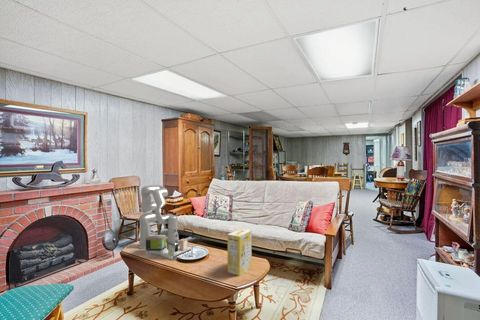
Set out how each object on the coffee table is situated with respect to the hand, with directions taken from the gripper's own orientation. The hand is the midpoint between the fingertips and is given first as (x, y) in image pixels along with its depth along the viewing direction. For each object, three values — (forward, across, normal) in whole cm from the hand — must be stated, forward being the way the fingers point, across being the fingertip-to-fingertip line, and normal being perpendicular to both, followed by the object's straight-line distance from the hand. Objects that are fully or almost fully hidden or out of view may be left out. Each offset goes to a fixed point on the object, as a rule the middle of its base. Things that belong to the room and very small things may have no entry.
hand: (172, 250), depth 198 cm
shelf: (+6, +2, -6) cm, 9 cm away
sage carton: (+4, 0, 0) cm, 4 cm away
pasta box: (+6, -60, -15) cm, 62 cm away
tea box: (+6, +20, +2) cm, 21 cm away
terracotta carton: (+4, +1, -13) cm, 14 cm away
